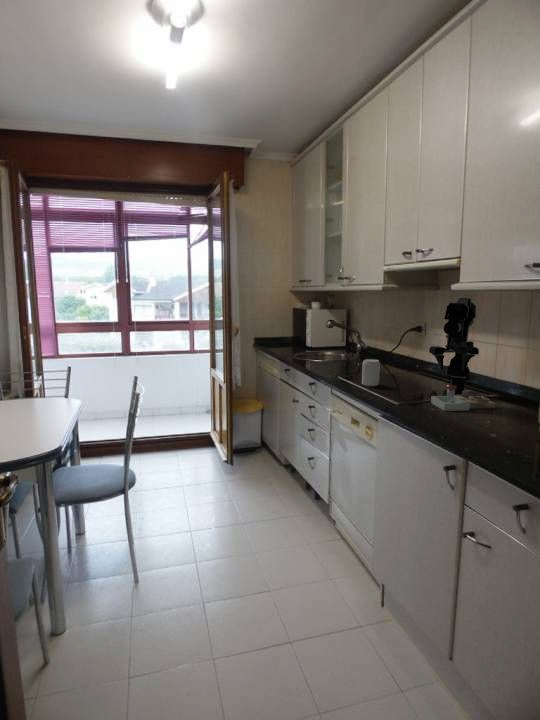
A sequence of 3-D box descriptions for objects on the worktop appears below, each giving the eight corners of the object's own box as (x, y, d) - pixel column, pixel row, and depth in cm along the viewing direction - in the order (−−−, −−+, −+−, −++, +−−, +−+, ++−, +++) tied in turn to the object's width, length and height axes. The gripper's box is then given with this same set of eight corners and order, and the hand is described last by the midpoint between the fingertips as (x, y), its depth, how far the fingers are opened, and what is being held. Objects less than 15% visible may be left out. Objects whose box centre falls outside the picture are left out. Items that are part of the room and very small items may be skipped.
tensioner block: (453, 399, 190) (454, 388, 189) (476, 399, 191) (477, 388, 190) (470, 408, 176) (471, 397, 175) (494, 408, 177) (495, 396, 176)
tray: (430, 402, 184) (431, 396, 184) (454, 402, 185) (455, 395, 184) (444, 410, 172) (444, 403, 172) (469, 410, 173) (469, 403, 173)
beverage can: (371, 382, 222) (372, 358, 220) (382, 385, 215) (383, 361, 213) (358, 384, 218) (359, 359, 216) (368, 387, 211) (370, 362, 209)
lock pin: (443, 403, 180) (444, 384, 179) (452, 403, 180) (453, 384, 179) (447, 406, 176) (448, 386, 175) (456, 406, 177) (458, 386, 175)
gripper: (441, 335, 176) (439, 374, 178) (487, 335, 177) (484, 374, 179) (429, 332, 187) (427, 369, 189) (473, 332, 188) (470, 369, 190)
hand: (452, 370), depth 187 cm, fingers open, 9 cm apart
